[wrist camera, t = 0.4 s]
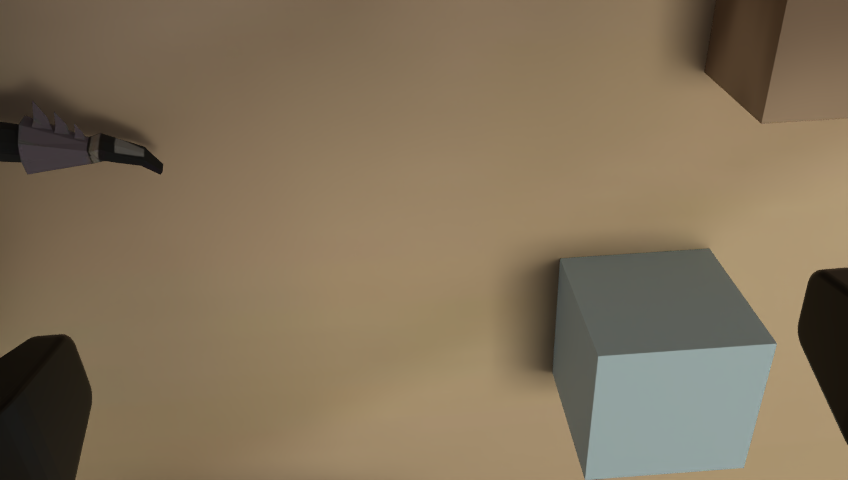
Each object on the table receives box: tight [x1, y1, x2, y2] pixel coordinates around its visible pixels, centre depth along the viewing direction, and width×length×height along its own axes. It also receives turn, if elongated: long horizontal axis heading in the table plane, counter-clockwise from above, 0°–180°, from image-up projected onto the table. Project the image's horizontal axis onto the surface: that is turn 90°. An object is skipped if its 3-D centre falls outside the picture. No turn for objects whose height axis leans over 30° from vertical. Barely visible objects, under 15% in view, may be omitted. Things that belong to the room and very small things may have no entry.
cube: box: [553, 249, 777, 480], centre depth 24 cm, size 5×5×5 cm
